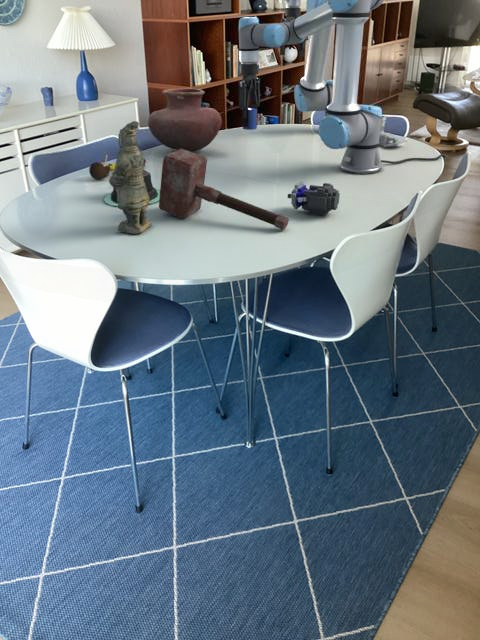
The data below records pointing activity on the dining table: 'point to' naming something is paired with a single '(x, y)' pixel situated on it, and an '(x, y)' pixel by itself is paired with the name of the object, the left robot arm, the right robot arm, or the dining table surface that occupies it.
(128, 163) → the statue
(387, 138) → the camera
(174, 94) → the clay pot
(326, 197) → the toy
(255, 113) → the can
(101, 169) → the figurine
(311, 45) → the left robot arm
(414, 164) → the dining table surface
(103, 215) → the dining table surface
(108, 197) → the chocolate cake
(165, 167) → the sledgehammer
